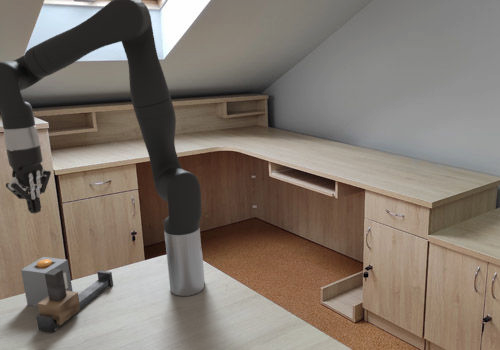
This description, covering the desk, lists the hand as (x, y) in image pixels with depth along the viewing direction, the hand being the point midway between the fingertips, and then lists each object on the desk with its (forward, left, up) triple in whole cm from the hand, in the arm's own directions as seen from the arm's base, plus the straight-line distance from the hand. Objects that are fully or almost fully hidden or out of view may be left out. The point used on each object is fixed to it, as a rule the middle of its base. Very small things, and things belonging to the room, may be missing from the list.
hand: (35, 212), depth 120 cm
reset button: (0, 0, -19) cm, 19 cm away
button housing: (0, 0, -24) cm, 24 cm away
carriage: (+8, +10, -24) cm, 27 cm away
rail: (+1, +10, -24) cm, 26 cm away
